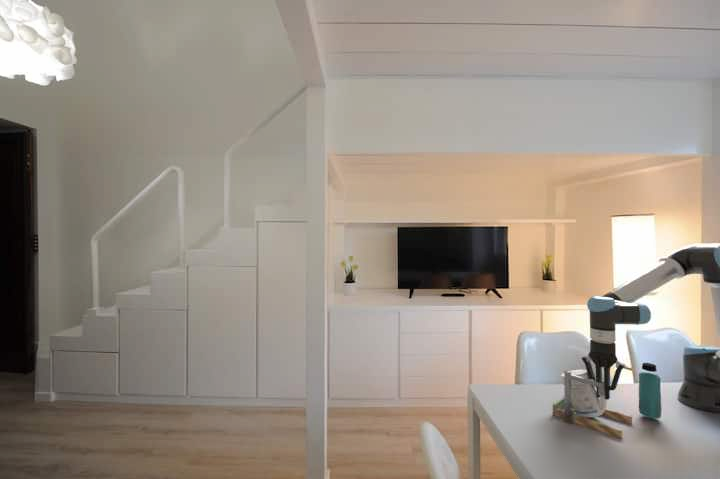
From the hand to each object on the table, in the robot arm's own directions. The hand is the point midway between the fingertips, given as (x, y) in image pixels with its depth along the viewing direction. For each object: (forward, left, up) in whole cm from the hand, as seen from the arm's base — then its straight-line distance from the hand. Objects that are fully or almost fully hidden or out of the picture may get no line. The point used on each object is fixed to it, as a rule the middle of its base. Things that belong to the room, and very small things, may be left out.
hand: (603, 407), depth 125 cm
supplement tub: (+4, 0, -4) cm, 6 cm away
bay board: (+4, 0, -6) cm, 7 cm away
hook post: (+4, +9, -6) cm, 11 cm away
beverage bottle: (-10, -17, -6) cm, 21 cm away
